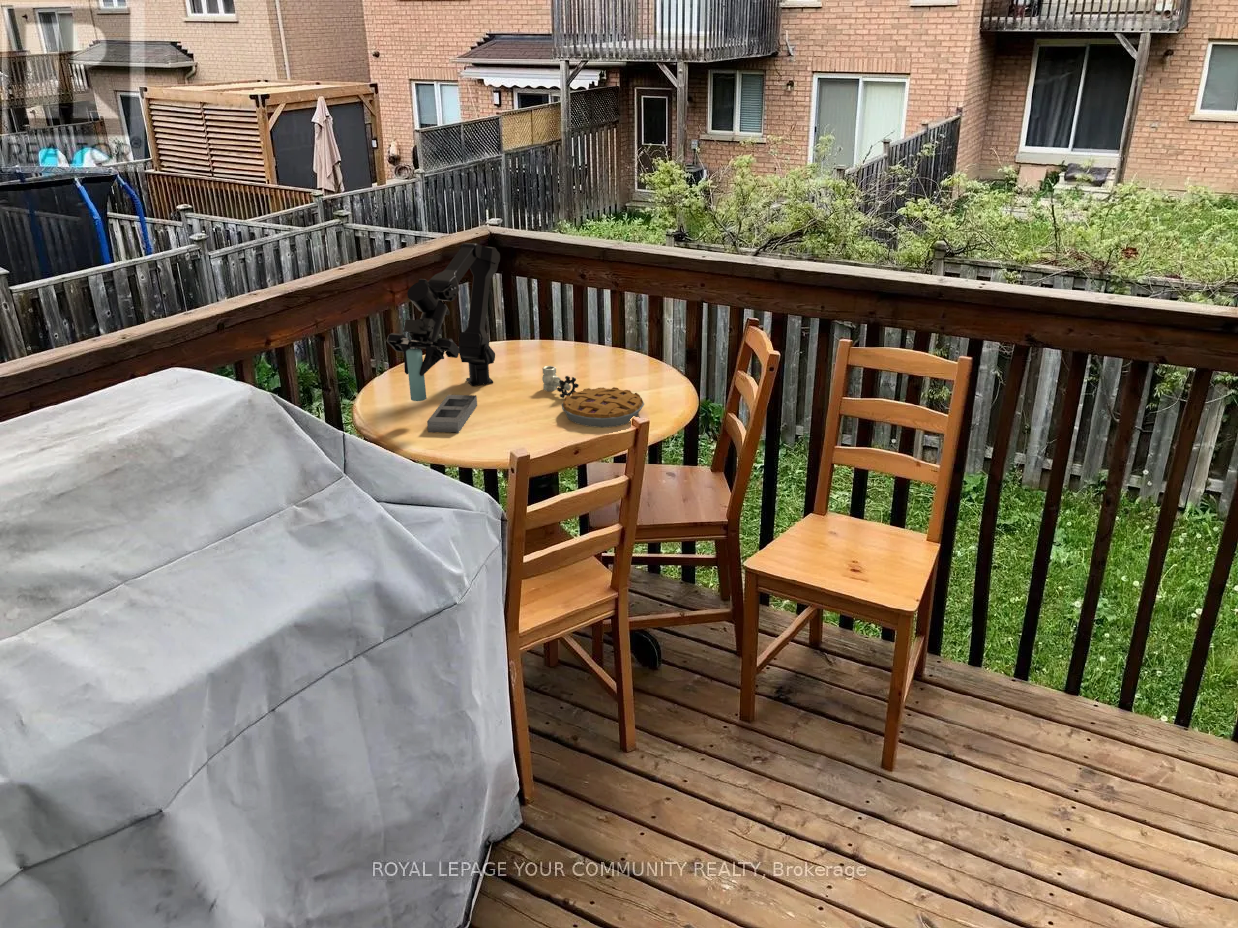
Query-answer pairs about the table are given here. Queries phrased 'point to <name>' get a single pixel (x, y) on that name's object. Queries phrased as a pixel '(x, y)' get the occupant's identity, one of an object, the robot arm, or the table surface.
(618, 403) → the pie
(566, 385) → the valve
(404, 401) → the table surface
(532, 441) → the table surface
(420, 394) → the dowel
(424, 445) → the table surface
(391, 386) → the table surface
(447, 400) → the grey slotted block
